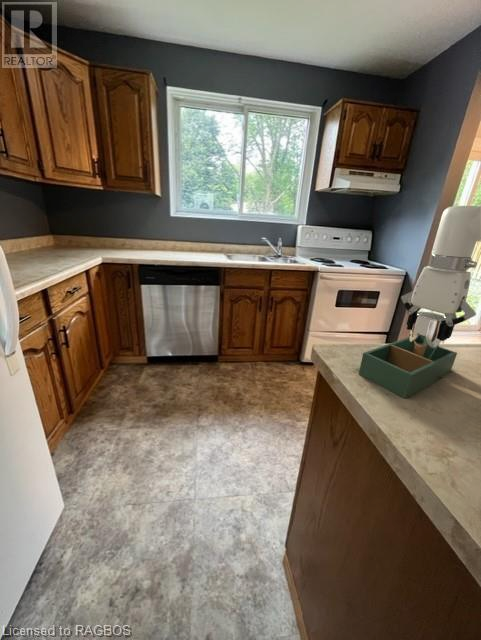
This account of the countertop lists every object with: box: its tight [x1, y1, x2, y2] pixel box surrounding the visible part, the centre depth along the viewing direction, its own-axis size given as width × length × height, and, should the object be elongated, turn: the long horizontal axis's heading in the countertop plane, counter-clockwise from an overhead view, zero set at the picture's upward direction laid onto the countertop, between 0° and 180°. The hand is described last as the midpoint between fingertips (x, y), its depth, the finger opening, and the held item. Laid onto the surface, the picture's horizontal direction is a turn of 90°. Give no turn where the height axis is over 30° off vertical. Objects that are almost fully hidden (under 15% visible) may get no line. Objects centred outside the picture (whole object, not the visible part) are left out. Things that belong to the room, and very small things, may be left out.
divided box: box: [358, 336, 458, 400], centre depth 69 cm, size 22×12×6 cm, turn 122°
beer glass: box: [409, 311, 446, 360], centre depth 70 cm, size 7×7×15 cm
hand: (426, 333), depth 69 cm, fingers closed on beer glass, 7 cm apart
